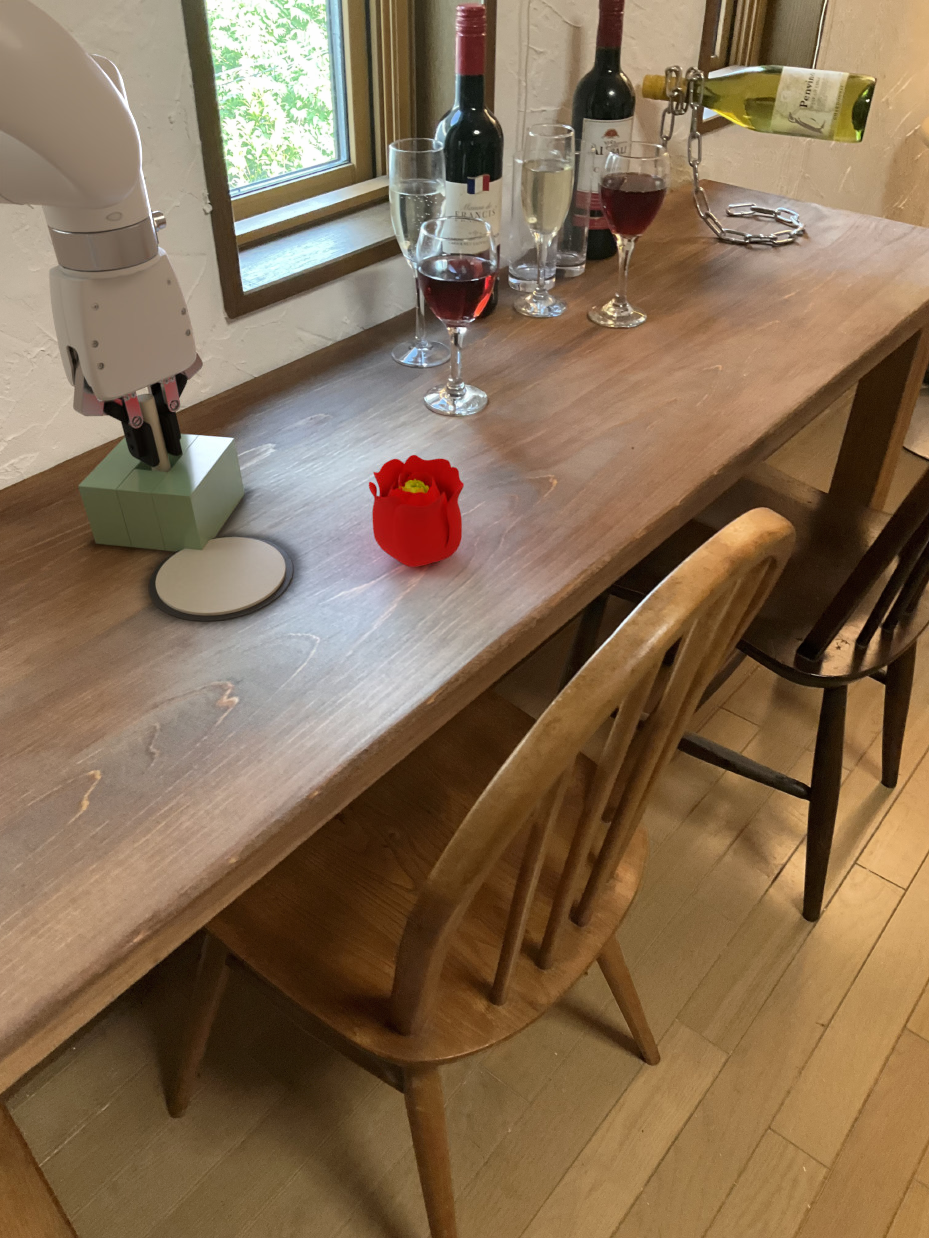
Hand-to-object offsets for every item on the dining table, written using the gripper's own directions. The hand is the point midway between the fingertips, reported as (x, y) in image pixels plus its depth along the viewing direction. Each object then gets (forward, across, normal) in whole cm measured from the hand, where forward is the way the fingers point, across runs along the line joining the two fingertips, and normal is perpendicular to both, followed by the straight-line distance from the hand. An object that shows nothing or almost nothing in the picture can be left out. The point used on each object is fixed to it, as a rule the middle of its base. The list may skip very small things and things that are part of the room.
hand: (157, 454), depth 85 cm
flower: (+7, -10, +22) cm, 25 cm away
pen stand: (+7, 0, 0) cm, 7 cm away
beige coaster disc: (+7, +3, +11) cm, 13 cm away
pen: (+7, 0, 0) cm, 7 cm away
